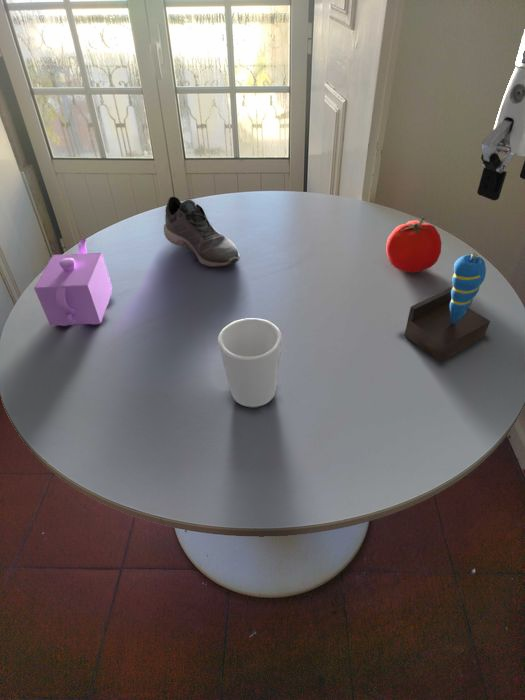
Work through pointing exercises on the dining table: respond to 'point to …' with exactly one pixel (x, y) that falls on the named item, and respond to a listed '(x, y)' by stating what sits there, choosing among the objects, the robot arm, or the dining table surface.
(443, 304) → the shelf
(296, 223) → the dining table surface
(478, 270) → the ornament
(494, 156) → the robot arm
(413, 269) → the tomato
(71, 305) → the teapot
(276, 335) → the cup
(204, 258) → the athletic shoe
